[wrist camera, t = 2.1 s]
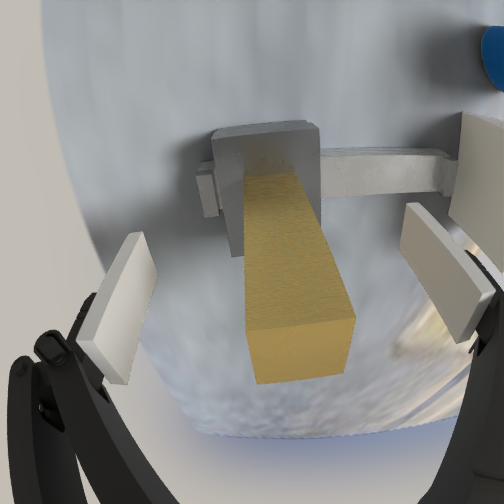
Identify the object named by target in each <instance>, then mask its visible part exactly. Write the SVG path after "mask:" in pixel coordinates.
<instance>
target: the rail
mask: <svg viewBox="0 0 504 504" xmlns="http://www.w3.org/2000/svg"><path fill="white" fill-rule="evenodd" d="M458 162H459V161H458V160H456V159H455V158H453V157H451V156H450V155H448V154H446V153H445V152H443V151H441V150H440V149H436V148H407V147H366V148H335V149H320V167H321V198H333V197H346V196H359V195H374V194H391V193H410V192H434V191H437V192H438V193H440V194H441V195H442V196H443V197H453V193H454V187H455V182H456V176H457V169H458ZM196 180H197V185H198V190H199V195H200V199H201V204H202V209H203V213H204V218H208V217H216V216H219V214H220V209H223V208H222V202H221V196H220V191H219V185H218V180H217V174H216V168H215V162H214V160H211V161H204V162H201V165H200V167H199V170H198V172H197V175H196Z"/></svg>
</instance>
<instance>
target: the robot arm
mask: <svg viewBox="0 0 504 504" xmlns="http://www.w3.org/2000/svg"><path fill="white" fill-rule="evenodd" d="M399 250H400V252H401V253H402V255H403V256H404V258H405V259H406V261H407V262H408V264H409V265H410V267H411V268H412V270H413V271H414V273H415V274H416V276H417V277H418V279H419V281H420V282H421V284H422V285H423V287H424V289H425V290H426V292H427V293H428V295H429V297H430V298H431V300H432V302H433V303H434V305H435V307H436V309H437V310H438V312H439V314H440V315H441V317H442V319H443V321H444V323H445V324H446V326H447V328H448V330H449V332H450V333H451V335H452V337H453V339H454V341H455V343H456V344H458V343H461V342H464V341H467V340H469V339H470V338H471V336H472V334H473V333H474V331H475V330H476V332H477V333H478V337H477V339H476V340H475V342H474V344H473V345H472V347H471V348H470V350H469V352H468V353H469V354H470V353H471V352H472V350H473V349H474V353H473V359H472V364H471V369H470V374H469V378H468V382H467V387H466V391H465V395H464V398H463V402H462V406H461V409H460V413H459V416H458V419H457V423H456V425H455V429H454V431H453V434H452V437H451V440H450V443H449V446H448V448H447V451H446V453H445V456H444V458H443V461H442V463H441V466H440V468H439V470H438V473H437V475H436V477H435V479H434V481H433V484H432V486H431V487H430V489H429V490H428V492H427V493H426V494H425V495H424V496H423V497H422V498H421V499H420V501H419V502H418V504H504V291H503V290H502V289H501V287H500V286H499V285H498V283H497V282H496V281H495V280H494V278H493V277H492V276H491V275H490V273H489V272H488V271H487V270H486V268H485V267H484V266H483V265H482V263H481V262H480V261H479V260H478V259H477V258H476V256H474V255H473V254H471V253H470V252H469V251H467V250H463V249H462V248H461V246H460V245H459V244H458V243H457V242H456V241H455V240H454V239H453V237H452V236H451V235H450V234H449V233H448V232H447V231H446V230H445V229H444V228H443V227H442V226H441V225H440V223H439V222H438V221H437V220H436V219H435V218H434V217H433V216H432V215H431V214H430V213H429V212H428V211H427V210H426V209H425V208H424V207H423V206H422V205H421V204H420V203H419V202H417V203H406V208H405V215H404V221H403V227H402V233H401V238H400V244H399ZM158 276H159V275H158V273H157V270H156V268H155V265H154V262H153V259H152V257H151V254H150V251H149V248H148V246H147V243H146V240H145V237H144V234H143V231H141V232H135V233H129V234H128V236H127V237H126V239H125V241H124V243H123V244H122V246H121V248H120V250H119V252H118V253H117V255H116V257H115V259H114V261H113V263H112V265H111V267H110V268H109V270H108V272H107V274H106V276H105V278H104V280H103V282H102V284H101V286H100V288H99V290H98V292H97V293H92V294H91V295H90V296H89V297H88V298H87V299H86V300H85V301H84V303H83V305H82V307H81V309H80V312H79V313H78V315H77V319H76V320H75V322H74V324H73V326H72V328H71V331H70V333H69V335H68V337H67V339H66V340H65V339H64V337H63V336H62V335H61V333H60V332H59V331H57V330H49V331H47V332H45V333H43V334H42V335H41V336H40V337H39V338H38V339H37V341H36V343H35V345H34V353H35V354H36V355H37V356H38V357H39V359H40V360H41V362H37V363H34V362H33V360H32V359H31V358H30V357H29V356H21V357H19V358H18V359H16V360H15V362H14V363H13V364H12V366H11V369H10V375H9V385H8V403H7V440H8V458H9V469H10V478H11V485H12V492H13V498H14V503H15V504H88V503H87V500H86V497H85V493H84V489H83V485H82V481H81V477H80V473H79V468H78V464H77V459H76V455H77V458H78V460H79V462H80V465H81V467H82V469H83V471H84V473H85V475H86V477H87V479H88V481H89V483H90V485H91V487H92V489H93V491H94V493H95V494H96V496H97V498H98V500H99V502H100V503H101V504H179V502H178V501H177V500H176V499H175V497H174V496H173V495H172V494H171V492H170V491H169V490H168V488H167V487H166V486H165V485H164V483H163V482H162V480H161V479H160V478H159V476H158V475H157V474H156V472H155V471H154V469H153V468H152V466H151V465H150V463H149V462H148V461H147V459H146V457H145V456H144V455H143V453H142V452H141V450H140V448H139V447H138V445H137V444H136V442H135V440H134V439H133V437H132V436H131V434H130V432H129V430H128V429H127V427H126V425H125V424H124V422H123V420H122V418H121V416H120V415H119V413H118V411H117V409H116V407H115V405H114V403H113V402H112V400H111V398H110V396H109V394H108V392H107V390H106V388H105V387H104V385H103V384H102V381H103V378H104V376H105V378H106V379H107V380H108V381H109V382H110V383H111V384H122V385H127V384H128V380H129V376H130V372H131V368H132V364H133V360H134V356H135V353H136V349H137V345H138V342H139V338H140V334H141V331H142V327H143V324H144V321H145V317H146V314H147V310H148V307H149V304H150V301H151V297H152V294H153V291H154V288H155V285H156V282H157V279H158ZM39 405H40V409H39ZM75 453H76V454H75Z"/></svg>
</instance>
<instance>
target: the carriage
mask: <svg viewBox="0 0 504 504" xmlns="http://www.w3.org/2000/svg"><path fill="white" fill-rule="evenodd" d="M211 145H212V151H213V157H214V162H215V168H216V174H217V180H218V185H219V191H220V196H221V202H222V208H223V213H224V218H225V224H226V229H227V235H228V240H229V245H230V251H231V256H232V257H237V256H244V268H245V330H246V336H247V341H248V345H249V350H250V355H251V359H252V364H253V369H254V373H255V378H256V382H257V384H268V383H278V382H287V381H295V380H303V379H310V378H317V377H324V376H330V375H336V374H342V373H343V372H344V368H345V364H346V360H347V356H348V352H349V348H350V343H351V339H352V334H353V330H354V325H355V320H356V316H355V313H354V310H353V307H352V305H351V302H350V299H349V297H348V294H347V291H346V289H345V286H344V284H343V281H342V278H341V276H340V273H339V271H338V268H337V266H336V263H335V261H334V258H333V256H332V253H331V251H330V249H329V246H328V244H327V241H326V239H325V237H324V234H323V232H322V230H321V167H320V136H319V128H318V127H316V126H315V125H314V124H313V123H308V122H307V121H306V120H298V121H284V122H272V123H262V124H252V125H244V126H236V127H228V128H221V129H217V130H216V132H214V133H213V136H212V138H211Z"/></svg>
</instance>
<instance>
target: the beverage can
mask: <svg viewBox="0 0 504 504" xmlns="http://www.w3.org/2000/svg"><path fill="white" fill-rule="evenodd" d="M481 53H482V59H483V63H484V67H485V70H486V72H487V74H488V76H489V78H490V80H491V81H492V83H493V84H494V85H495V86H496V87H497V88H498V89H499V90H500V91H502V92H504V27H503V26H491V27H489V28H488V29H487V30H486V31H485V33H484V35H483V38H482V44H481Z"/></svg>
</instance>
